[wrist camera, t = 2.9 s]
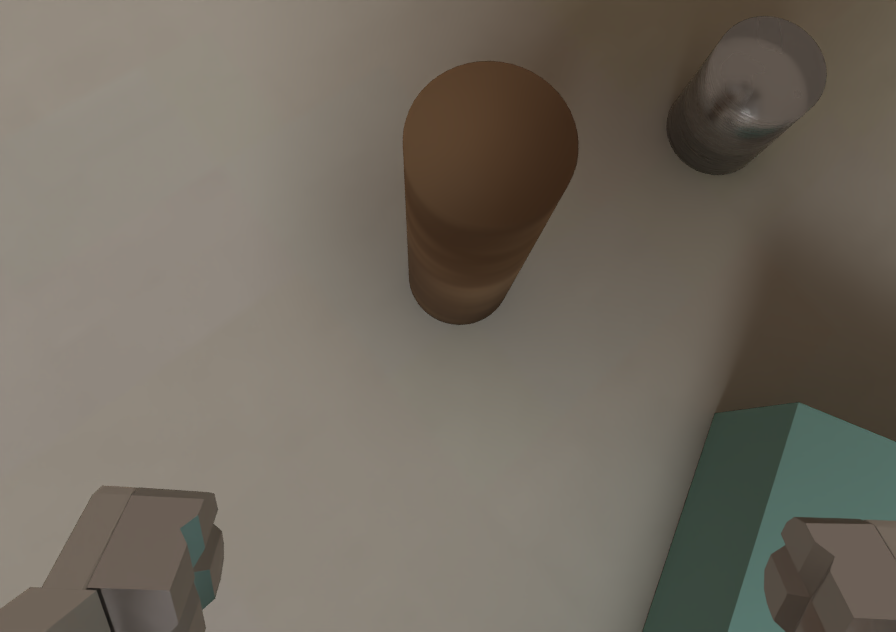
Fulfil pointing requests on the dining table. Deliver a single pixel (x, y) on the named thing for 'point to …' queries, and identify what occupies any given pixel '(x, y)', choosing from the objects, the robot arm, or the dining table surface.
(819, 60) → the short metal pin
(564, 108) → the tall walnut pin
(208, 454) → the dining table surface
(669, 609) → the hole block
